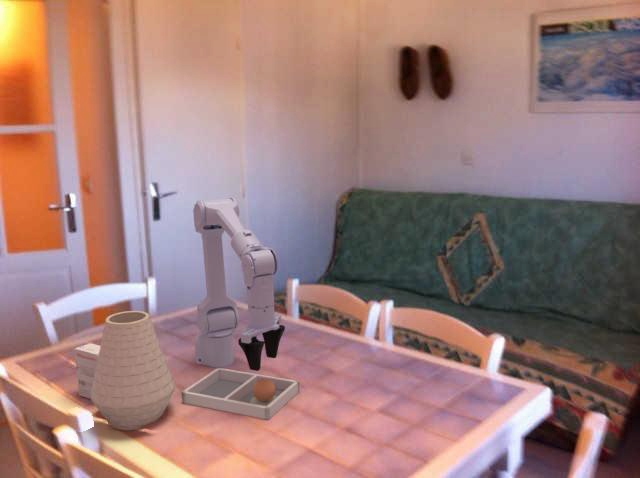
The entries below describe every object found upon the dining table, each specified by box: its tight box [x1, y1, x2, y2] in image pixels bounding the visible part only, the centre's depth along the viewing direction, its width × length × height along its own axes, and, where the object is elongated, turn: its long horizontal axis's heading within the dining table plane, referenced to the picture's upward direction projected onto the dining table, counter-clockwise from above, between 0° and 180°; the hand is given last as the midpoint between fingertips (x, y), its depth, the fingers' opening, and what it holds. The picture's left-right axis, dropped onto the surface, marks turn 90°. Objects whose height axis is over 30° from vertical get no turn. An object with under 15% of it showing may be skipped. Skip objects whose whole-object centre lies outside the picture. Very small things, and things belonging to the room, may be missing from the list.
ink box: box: [73, 342, 100, 400], centre depth 152 cm, size 9×5×12 cm, turn 58°
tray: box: [181, 367, 300, 421], centre depth 148 cm, size 22×15×4 cm
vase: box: [90, 310, 176, 432], centre depth 139 cm, size 17×17×23 cm
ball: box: [253, 379, 275, 402], centre depth 145 cm, size 5×5×5 cm
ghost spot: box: [250, 395, 277, 406], centre depth 146 cm, size 6×6×1 cm
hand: (263, 363), depth 144 cm, fingers open, 7 cm apart
